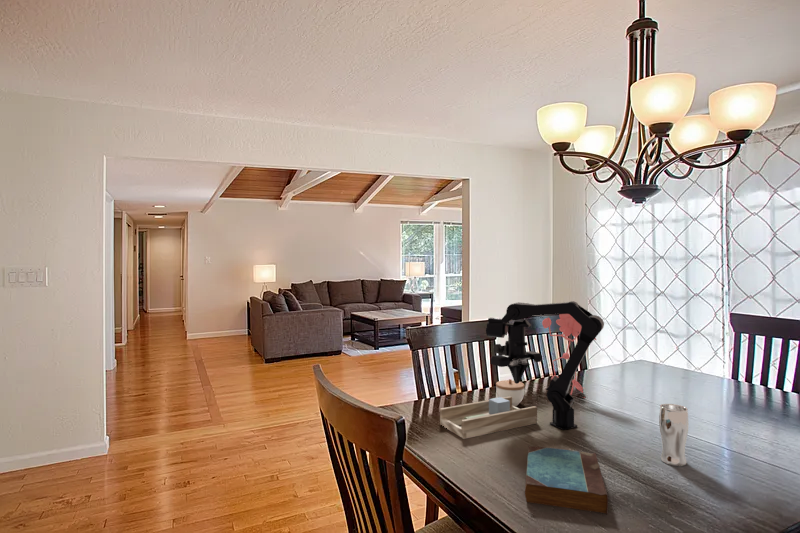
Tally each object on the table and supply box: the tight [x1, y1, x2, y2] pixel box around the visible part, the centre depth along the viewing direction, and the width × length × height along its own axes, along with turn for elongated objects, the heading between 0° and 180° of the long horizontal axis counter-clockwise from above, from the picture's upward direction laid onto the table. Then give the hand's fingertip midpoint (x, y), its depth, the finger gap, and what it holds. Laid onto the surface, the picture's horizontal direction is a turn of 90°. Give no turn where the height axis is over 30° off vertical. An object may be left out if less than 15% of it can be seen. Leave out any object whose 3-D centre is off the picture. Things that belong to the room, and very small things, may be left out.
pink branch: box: [541, 314, 597, 399], centre depth 199 cm, size 15×26×35 cm, turn 38°
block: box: [488, 396, 510, 414], centre depth 161 cm, size 5×5×5 cm
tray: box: [439, 396, 538, 440], centre depth 159 cm, size 14×30×6 cm, turn 117°
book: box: [524, 445, 609, 515], centre depth 116 cm, size 23×18×5 cm
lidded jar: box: [495, 379, 526, 407], centre depth 181 cm, size 11×11×9 cm
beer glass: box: [658, 403, 689, 467], centre depth 129 cm, size 7×7×15 cm
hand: (516, 383), depth 164 cm, fingers closed
